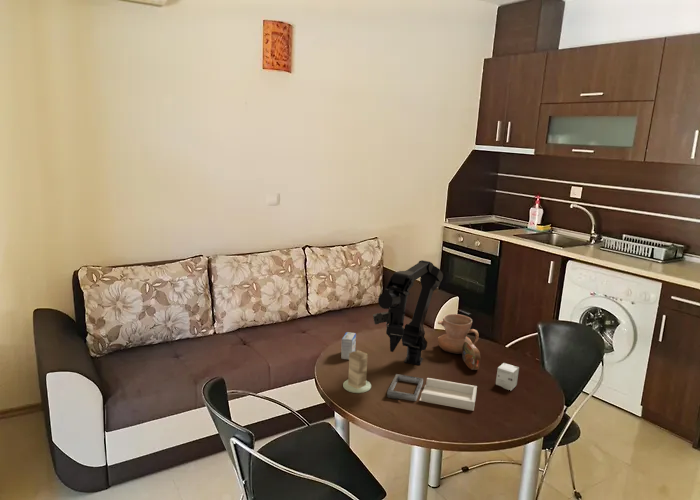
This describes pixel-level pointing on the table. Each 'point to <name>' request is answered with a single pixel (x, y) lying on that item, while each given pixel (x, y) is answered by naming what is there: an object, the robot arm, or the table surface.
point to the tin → (471, 355)
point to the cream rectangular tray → (449, 394)
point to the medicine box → (348, 345)
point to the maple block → (357, 369)
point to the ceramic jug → (456, 332)
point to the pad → (354, 390)
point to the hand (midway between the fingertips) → (391, 348)
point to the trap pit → (403, 395)
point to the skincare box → (507, 376)
